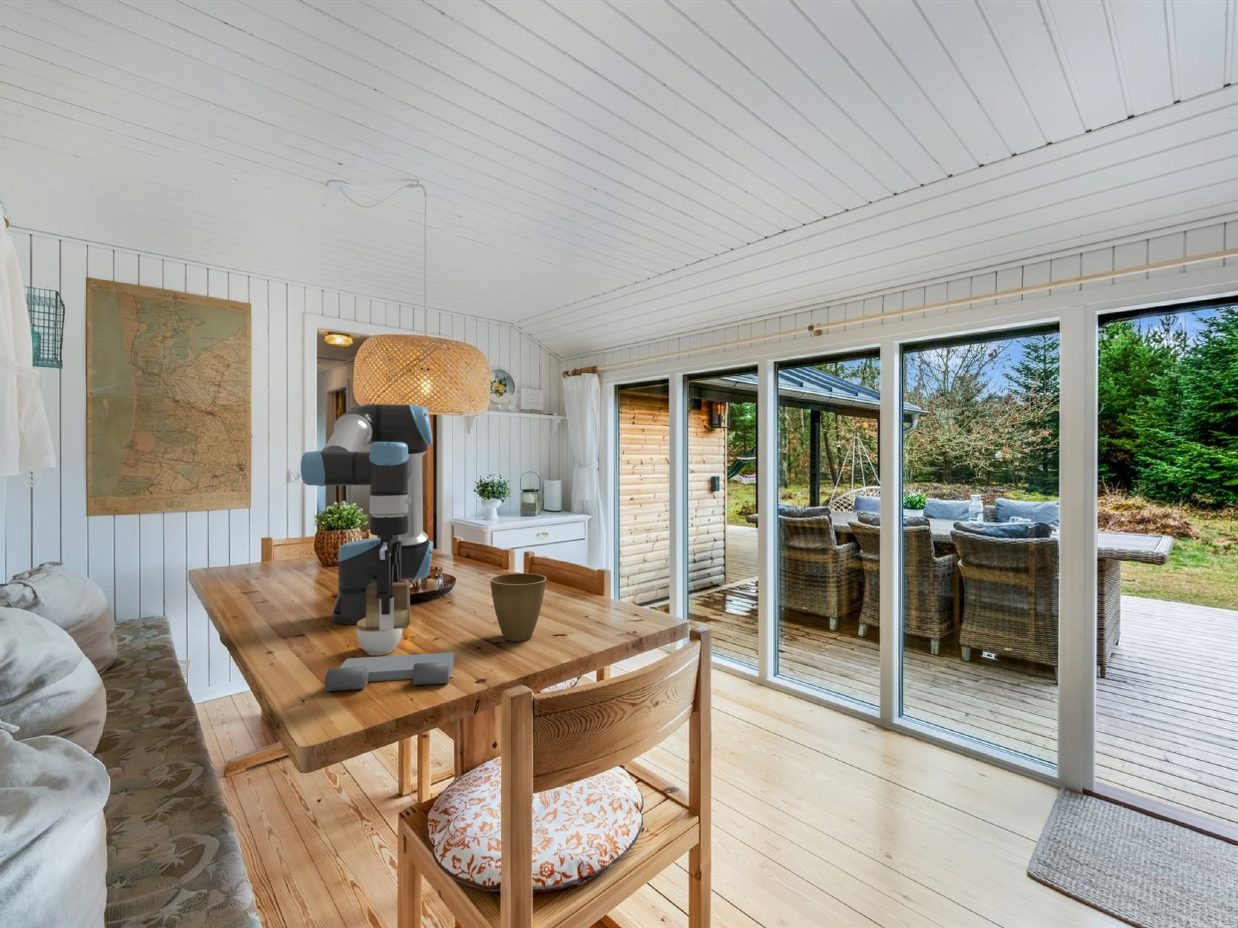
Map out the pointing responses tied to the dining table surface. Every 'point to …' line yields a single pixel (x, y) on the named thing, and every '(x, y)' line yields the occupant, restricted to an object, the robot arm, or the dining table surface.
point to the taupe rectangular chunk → (400, 606)
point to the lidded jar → (377, 639)
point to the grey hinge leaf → (391, 670)
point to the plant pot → (517, 603)
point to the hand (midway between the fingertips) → (389, 625)
